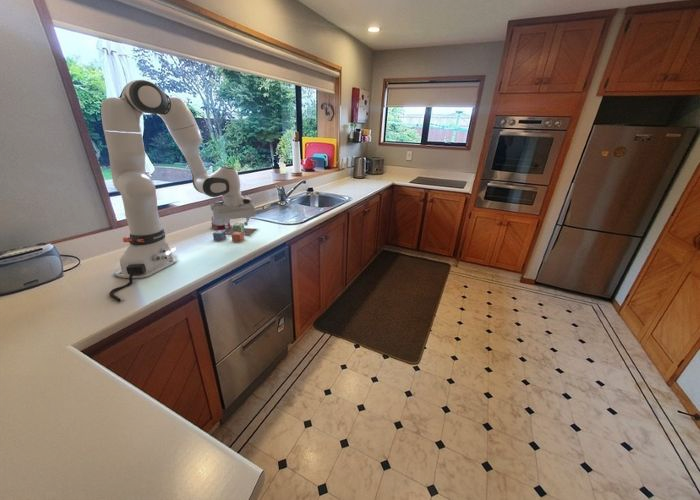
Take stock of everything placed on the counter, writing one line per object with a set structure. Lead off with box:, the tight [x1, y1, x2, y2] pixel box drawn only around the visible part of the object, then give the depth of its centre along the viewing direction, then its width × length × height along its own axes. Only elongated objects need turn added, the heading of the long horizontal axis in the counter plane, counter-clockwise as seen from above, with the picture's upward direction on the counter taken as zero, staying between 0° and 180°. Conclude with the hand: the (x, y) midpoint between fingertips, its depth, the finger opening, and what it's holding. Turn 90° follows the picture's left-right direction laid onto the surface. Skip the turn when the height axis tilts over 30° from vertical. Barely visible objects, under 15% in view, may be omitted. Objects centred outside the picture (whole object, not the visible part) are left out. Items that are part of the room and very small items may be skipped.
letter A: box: [232, 222, 245, 232], centre depth 158 cm, size 4×4×4 cm
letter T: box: [212, 230, 227, 242], centre depth 147 cm, size 4×4×4 cm
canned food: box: [210, 215, 231, 231], centre depth 164 cm, size 11×10×10 cm
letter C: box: [230, 232, 245, 243], centre depth 147 cm, size 4×4×4 cm
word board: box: [224, 226, 258, 237], centre depth 159 cm, size 12×17×1 cm
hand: (236, 226), depth 144 cm, fingers open, 8 cm apart
